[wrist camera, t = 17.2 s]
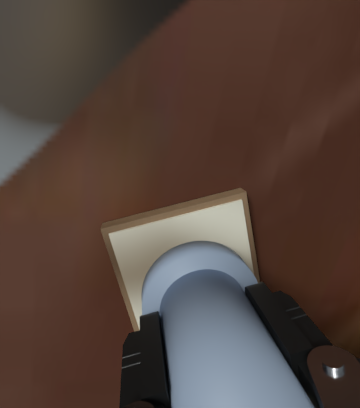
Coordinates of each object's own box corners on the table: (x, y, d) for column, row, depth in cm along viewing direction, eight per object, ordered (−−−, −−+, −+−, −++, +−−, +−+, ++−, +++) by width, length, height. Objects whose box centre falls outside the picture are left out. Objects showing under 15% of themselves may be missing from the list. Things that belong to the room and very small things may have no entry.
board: (284, 462, 21) (290, 477, 20) (190, 492, 21) (193, 510, 20) (240, 187, 15) (247, 192, 14) (102, 223, 14) (99, 230, 13)
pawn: (257, 321, 14) (499, 734, 5) (156, 350, 14) (200, 857, 4) (242, 227, 13) (556, 563, 3) (128, 257, 12) (101, 733, 3)
